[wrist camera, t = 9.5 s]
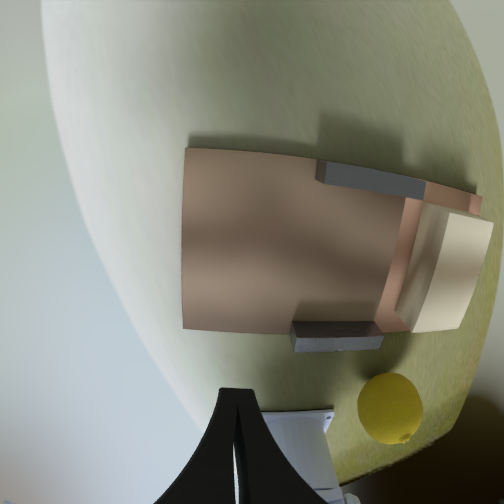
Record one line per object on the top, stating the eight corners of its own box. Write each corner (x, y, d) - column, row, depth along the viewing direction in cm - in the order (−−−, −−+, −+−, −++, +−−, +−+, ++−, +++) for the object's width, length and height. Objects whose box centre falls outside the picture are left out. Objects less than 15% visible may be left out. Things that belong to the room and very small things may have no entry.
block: (439, 309, 20) (458, 328, 18) (394, 310, 20) (412, 332, 17) (468, 211, 17) (493, 222, 15) (423, 201, 17) (449, 212, 14)
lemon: (380, 346, 22) (420, 413, 15) (408, 367, 24) (444, 425, 16) (335, 386, 24) (360, 456, 16) (368, 402, 25) (393, 462, 18)
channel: (369, 333, 21) (379, 348, 19) (289, 334, 20) (293, 352, 18) (409, 176, 16) (426, 181, 14) (316, 159, 16) (327, 161, 14)
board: (437, 323, 22) (442, 328, 21) (184, 322, 20) (183, 328, 19) (476, 194, 18) (482, 196, 17) (187, 147, 16) (185, 147, 15)
